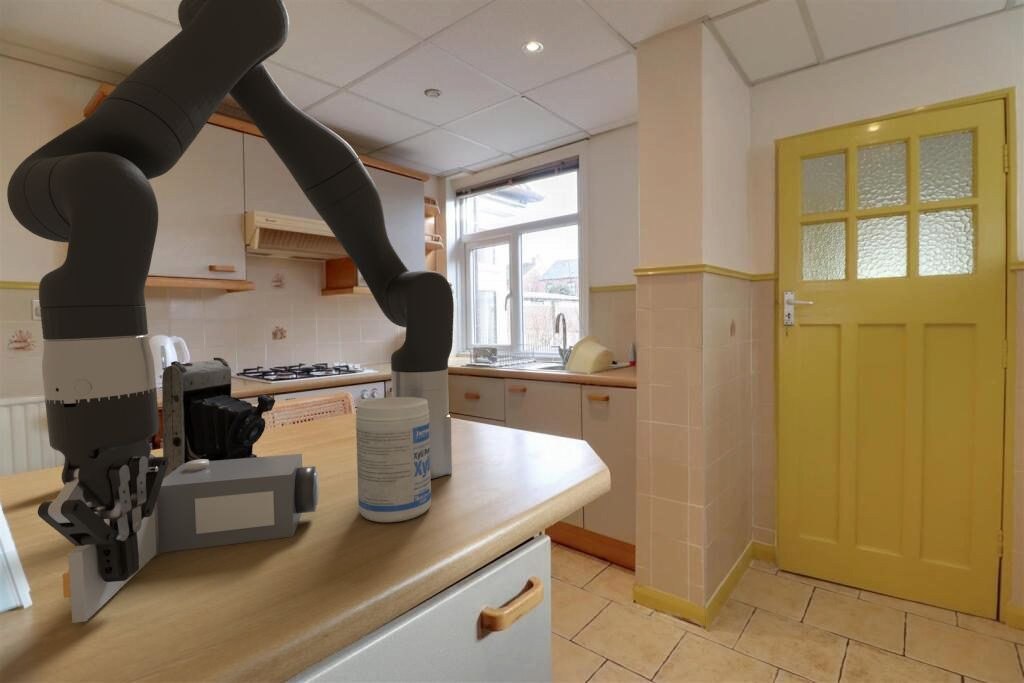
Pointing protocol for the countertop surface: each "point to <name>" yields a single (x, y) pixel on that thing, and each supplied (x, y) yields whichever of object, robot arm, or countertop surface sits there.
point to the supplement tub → (393, 458)
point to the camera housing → (234, 501)
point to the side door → (85, 571)
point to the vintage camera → (207, 415)
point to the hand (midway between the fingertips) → (121, 577)
